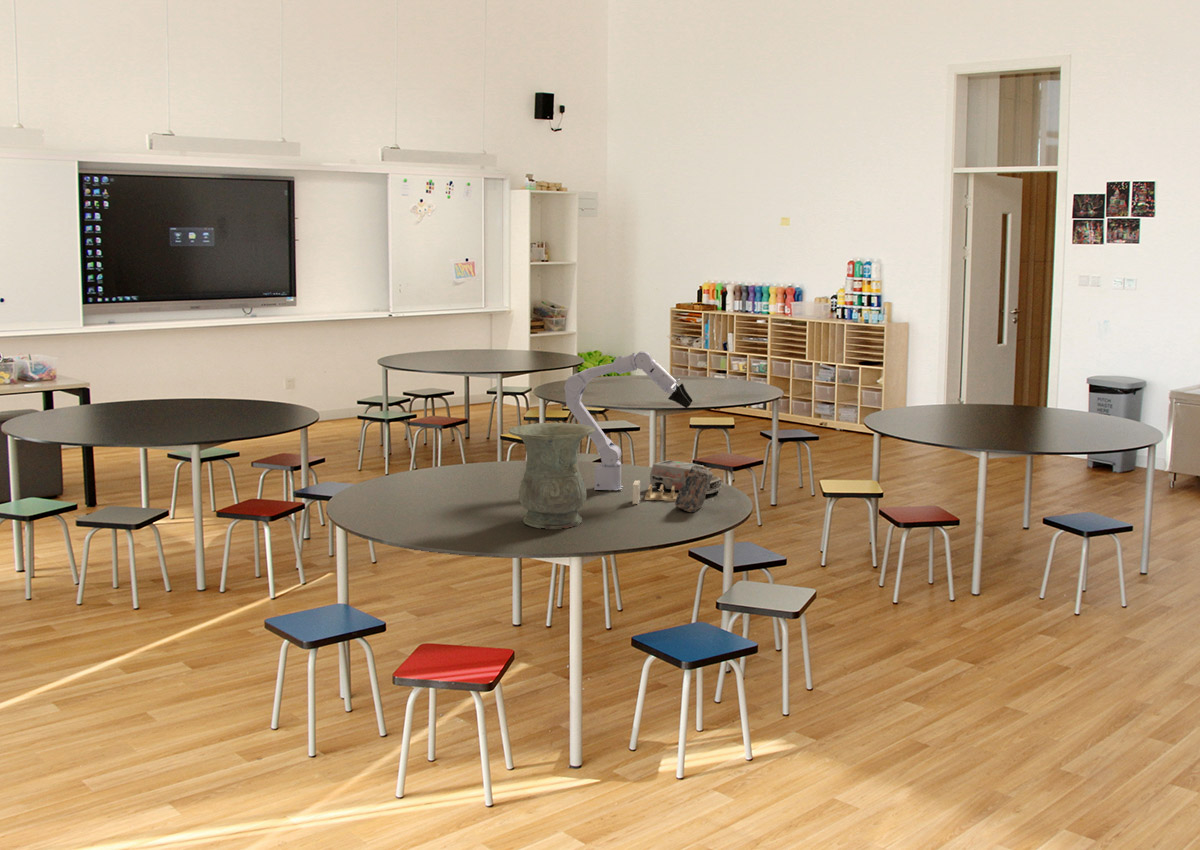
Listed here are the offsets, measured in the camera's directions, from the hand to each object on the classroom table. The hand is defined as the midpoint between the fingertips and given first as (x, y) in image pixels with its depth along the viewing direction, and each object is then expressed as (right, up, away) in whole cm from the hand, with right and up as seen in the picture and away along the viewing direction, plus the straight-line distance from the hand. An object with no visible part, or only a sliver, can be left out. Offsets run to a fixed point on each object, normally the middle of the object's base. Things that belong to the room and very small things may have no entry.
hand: (689, 404), depth 394 cm
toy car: (-1, -31, +6) cm, 32 cm away
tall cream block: (-19, -34, -12) cm, 40 cm away
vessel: (-47, -38, -39) cm, 72 cm away
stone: (-1, -35, -21) cm, 41 cm away
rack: (-10, -32, -5) cm, 34 cm away
